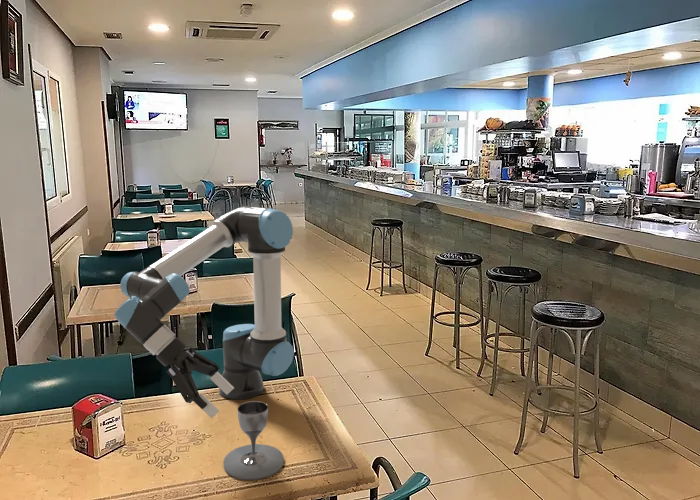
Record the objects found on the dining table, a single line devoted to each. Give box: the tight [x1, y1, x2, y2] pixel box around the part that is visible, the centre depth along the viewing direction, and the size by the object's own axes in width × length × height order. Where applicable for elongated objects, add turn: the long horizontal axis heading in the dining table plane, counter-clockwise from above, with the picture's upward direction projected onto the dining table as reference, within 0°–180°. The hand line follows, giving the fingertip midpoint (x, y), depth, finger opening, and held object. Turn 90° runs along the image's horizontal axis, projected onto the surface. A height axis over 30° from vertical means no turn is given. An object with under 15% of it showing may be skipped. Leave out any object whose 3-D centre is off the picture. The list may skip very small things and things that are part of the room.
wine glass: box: [237, 400, 269, 466], centre depth 155 cm, size 8×8×15 cm
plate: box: [223, 443, 285, 481], centre depth 156 cm, size 16×16×1 cm
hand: (223, 402), depth 153 cm, fingers open, 13 cm apart
